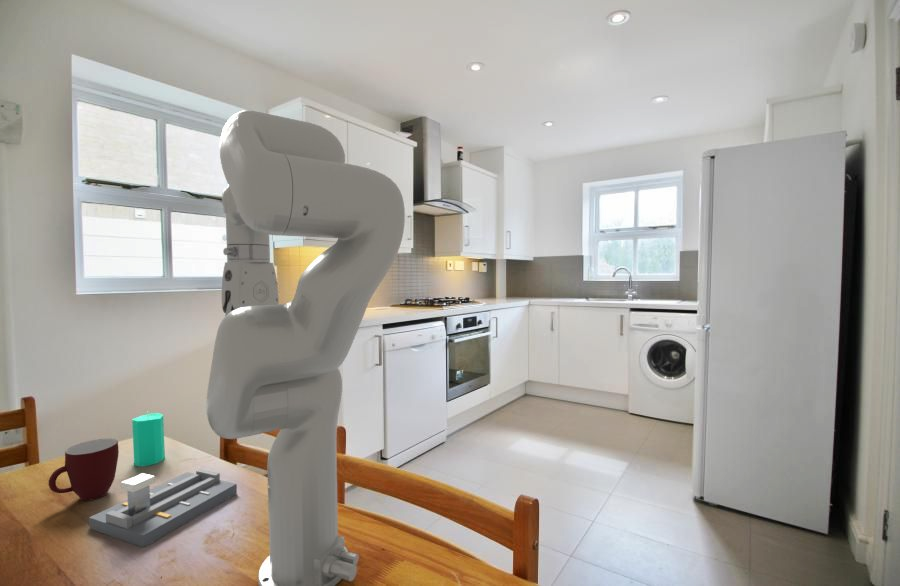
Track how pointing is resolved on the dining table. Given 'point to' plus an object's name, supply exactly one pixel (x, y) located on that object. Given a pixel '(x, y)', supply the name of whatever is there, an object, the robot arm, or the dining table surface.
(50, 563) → the dining table surface
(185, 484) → the console
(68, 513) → the dining table surface
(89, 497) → the mug
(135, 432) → the candle
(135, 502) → the fader tab
